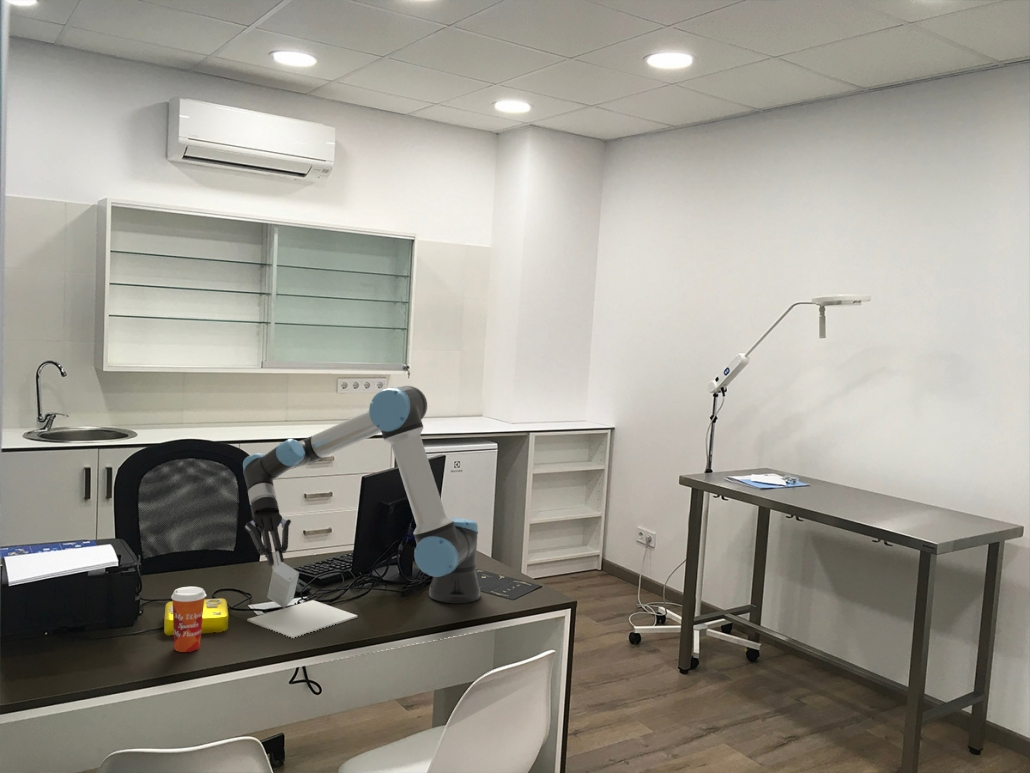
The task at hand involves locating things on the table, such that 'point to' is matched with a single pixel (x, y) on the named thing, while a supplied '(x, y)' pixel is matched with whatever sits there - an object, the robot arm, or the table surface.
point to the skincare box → (283, 584)
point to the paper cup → (187, 617)
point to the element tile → (212, 616)
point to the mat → (302, 618)
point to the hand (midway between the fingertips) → (278, 574)
